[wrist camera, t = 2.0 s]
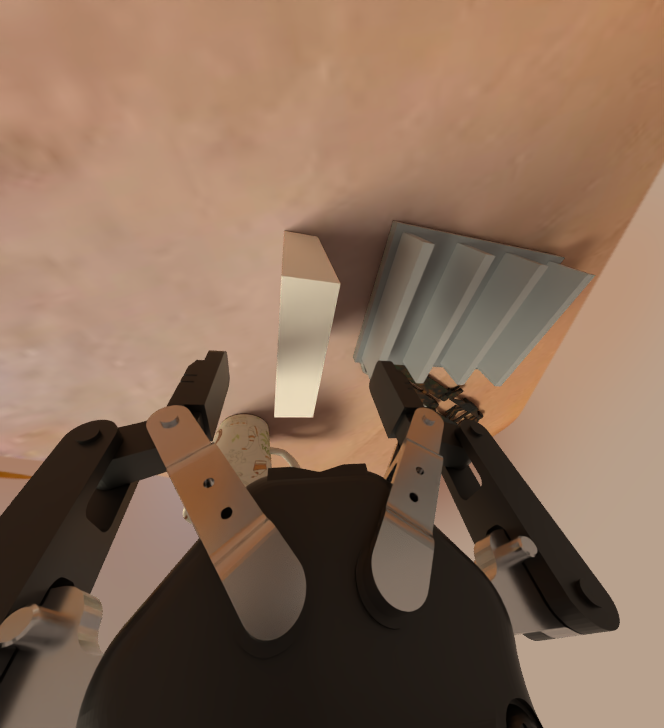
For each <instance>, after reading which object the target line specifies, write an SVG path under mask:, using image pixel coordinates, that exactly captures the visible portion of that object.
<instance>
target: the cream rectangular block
mask: <svg viewBox="0 0 664 728" xmlns="http://www.w3.org/2000/svg"><path fill="white" fill-rule="evenodd" d="M339 288H340V282H339V280H338V278H337V276H336V274H335V272H334V269H333V267H332V265H331V263H330V261H329V259H328V257H327V255H326V253H325V251H324V249H323V247H322V245H321V243H320V241H319V239H318V237H317V236H311V235H305V234H300V233H294V232H289V231H284V242H283V258H282V274H281V294H280V313H279V333H278V352H277V372H276V391H275V411H274V417H313V414H314V410H315V405H316V400H317V395H318V390H319V385H320V380H321V376H322V371H323V366H324V361H325V356H326V351H327V347H328V342H329V337H330V332H331V327H332V322H333V318H334V313H335V308H336V303H337V298H338V293H339Z"/></svg>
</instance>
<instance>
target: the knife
mask: <svg viewBox="0 0 664 728" xmlns="http://www.w3.org/2000/svg"><path fill="white" fill-rule="evenodd" d="M360 364H361V367H362V371H363V372H364V373H365V374H367V371H366V369H365V366H364V364H363V363H360ZM394 366H395V367H396V369H397V370H400V371H401V372H402V373H403V374H404V375H405V376H406V377H407V378H408V380H409V381H411V382H412V383H414V384H416V385H417V386H419V387H420V388H422V389H424V390H423V391H420V390H418V389H417V388H415V387H413V389H414V390H415V391H416V393H417V395H418V396H419V398H420V400H421V401H422V403H423V405H424V406H425V408H428V409H431V410H433V411H434V412H436V409H435V408H436V407H437V406H439V404H438V403H437V401H435V399H433V398H431V397H430V396H428V395H426V394H427V393H430V394H432V395H433V396H435V397H436V398H438V399H441V400H442V401H446V400H447V399H448V398H449V400H451V401H452V402H454V403H456V404H457V405H459V406H460V407H457V408H455V407H456V406H457V405H455V406H453V407H452V408H451V409H449V410H447V411H446V412H448V415H447V416H446V417H444V416H443V415H441V414H439V413H437V412H436V413H437V414H438V415H439V416H440V417H441V418H442V420H443V422H447V423H451V424H454V425H459V424H460V423H459V424H457V423H456V422H457V421H459V420H460V419H462V418H463V417H464V419H465V420H466V419H467V418H466V417H465V416H466V415H468V414H469V413H471V414H473V416H472V417H470V418H469V419H468V420H473V421H475V422H479V421H478V420H480V419H481V418H483V414H482V413H481V412H480V411H477V410H479V409H478V408H477V407H476V406H475V405H474V404H473V403H472V402H470V401H469V400H468V399H466V398H462V399H463V400H464V401H465V402H464V401H463V400H458V399H454V398H455V397H456V396H458V395H459V394H461V393H462V392H463V390H462V389H461V388H460V389H458V388H459V387H460V386H459V385H458V386H457V387H456V388H454V389H453V390H451V389H450V388H448V389H445V388H444V387H443V386H441V385H440V384H438V383H437V382H435V381H434V380H432V379H431V378H429V377H428V376H427V377H426V379H425V381H424V383H416V382H415V381H414V379H413V378H412V376H411V374H410V373H409V371H408V369H407V368H406V366H405V365H395V364H394ZM367 375H368V374H367ZM456 389H458V390H456ZM455 390H456V391H455ZM462 410H465V411H467V412H466V413H464V414H463V415H461V416H460V417H458V418H457V419H455V420H454V421H452V419H453V418H454V416H455V415H456V413H457V412H458V411H462ZM453 412H454V413H453ZM452 413H453V414H452ZM451 414H452V416H451V417H450V415H451ZM449 417H450V419H449Z"/></svg>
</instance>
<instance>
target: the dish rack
mask: <svg viewBox="0 0 664 728" xmlns="http://www.w3.org/2000/svg"><path fill="white" fill-rule="evenodd" d="M563 260H564V257H561V256H558V255H554V254H549V253H545V252H540V251H535V250H530V249H526V248H521V247H516V246H511V245H507V244H502V243H497V242H492V241H488V240H483V239H478V238H473V237H469V236H464V235H459V234H454V233H450V232H445V231H440V230H435V229H431V228H426V227H421V226H416V225H412V224H407V223H402V222H397V221H393V223H392V226H391V230H390V233H389V236H388V240H387V243H386V247H385V250H384V253H383V257H382V260H381V264H380V267H379V270H378V274H377V277H376V280H375V284H374V287H373V291H372V294H371V297H370V301H369V304H368V308H367V311H366V314H365V318H364V321H363V324H362V328H361V331H360V335H359V338H358V341H357V345H356V348H355V352H354V355H353V358H354V361H355V362H359V363H363V364H364V366H365V369H366V371H367V374H368V376H369V379H371V376H372V374H373V371H374V368H375V365H376V363H377V361H379V360H380V361H392V362H393V364H395V365H405V366H406V368H407V369H408V371H409V373H410V374H411V376H412V378H413V379H414V381H415V382H416V383H424V381H425V379H426V377H427V376H428V374H429V372H430V370H431V369H432V367H443V368H444V369H445V370H446V371H447V373H448V374H449V375H450V376H451V378H452V379H453V380H454V381H455V383H456V384H457V385H464V384H465V382H466V381H467V380H468V378H469V377H470V375H471V374H472V373H473V371H474V370H475V369H479V370H480V371H481V372H482V373H483V375H484V376H485V377H486V378H487V379H488V380H489V381H490V382H491V383H492V384H493V385H494V386H501V385H502V384H503V383H504V382H505V381H506V379H507V378H508V377H509V376H510V375H511V374H512V372H513V371H514V370H515V369H516V368H517V367H518V365H519V364H520V363H521V362H522V361H523V360H524V358H525V357H526V356H527V355H528V354H529V353H530V351H531V350H532V349H533V348H534V347H535V346H536V344H537V343H538V342H539V341H540V340H541V338H542V337H543V336H544V335H545V334H546V333H547V331H548V330H549V329H550V328H551V327H552V326H553V324H554V323H555V322H556V321H557V320H558V319H559V317H560V316H561V315H562V314H563V313H564V312H565V310H566V309H567V308H568V307H569V306H570V305H571V303H572V302H573V301H574V300H575V299H576V297H577V296H578V295H579V294H580V293H581V292H582V290H583V289H584V288H585V287H586V286H587V285H588V283H589V282H590V281H591V280H592V279H593V278H594V276H595V275H592V274H589V273H586V272H583V271H580V270H577V269H574V268H571V267H568V266H565V265H562V264H561V262H562V261H563Z"/></svg>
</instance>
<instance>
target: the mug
mask: <svg viewBox="0 0 664 728" xmlns="http://www.w3.org/2000/svg"><path fill="white" fill-rule="evenodd" d="M213 442H214V443H215V444H216V445H217V446H218V447H219V449H220V450H221V452H222V453H223V455H224V456H225V458H226V459H227V461H228V462H229V463H230V465H231V466H232V468H233V469H234V471H235V472H236V474H237V475H238V477H239V478H240V480H241V481H242V483H243V484H244V486H245V487H246V486H247V485H249V484H250V483H252V482H254V481H255V480H258V479H260V478H262V477H265V476H267V474H268V468H272V466H271V454H274V455H279V456H282V457H283V458H284V459H285V460H286V461H287V462H288V463H289V465H290V467H297V468H300V466H299V464H298V462H297V461H296V460H295V459H294V457H292V456H291V455H290V454H289V453H288V452H287V451H285V450H283V449H279V448H273V447H270V440H269V429H268V425H267V423H266V422H265V421H264V420H263V419H261V418H259V417H257V416H254V415H248V414H239V415H234V416H231V417H228V418H227V419H225V420H224V421H223V422H222V423H221V425H220V427H219V429H218V431H217V433H216V436H215V438H214V440H213ZM213 442H212V443H213ZM183 516H184V519H185V520H186V521H187V522H189V523H191V524H192V522H191V520H190V518H189V516H188V514H187V512H186V510H185V508H184V510H183Z"/></svg>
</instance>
